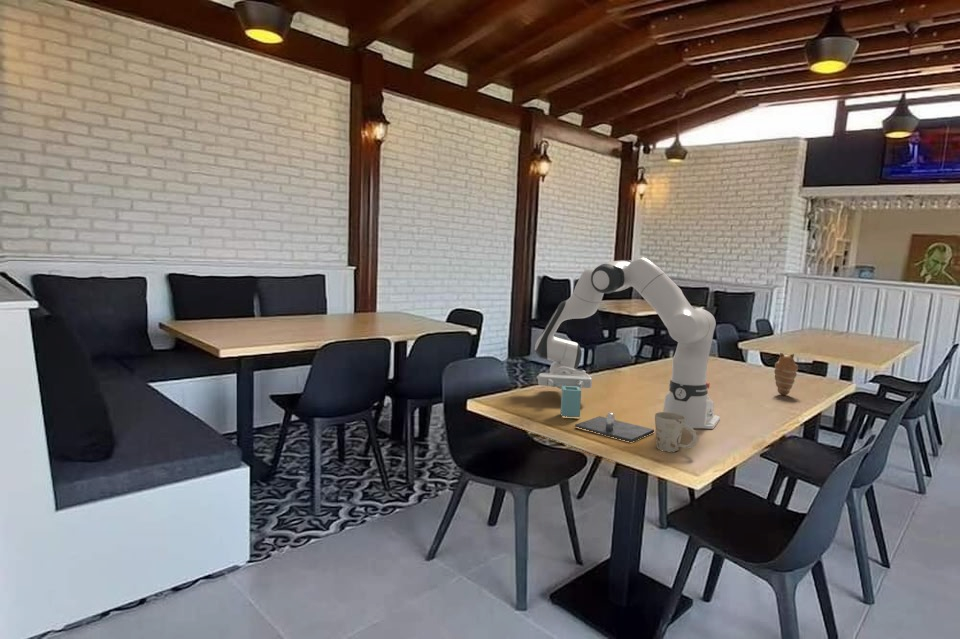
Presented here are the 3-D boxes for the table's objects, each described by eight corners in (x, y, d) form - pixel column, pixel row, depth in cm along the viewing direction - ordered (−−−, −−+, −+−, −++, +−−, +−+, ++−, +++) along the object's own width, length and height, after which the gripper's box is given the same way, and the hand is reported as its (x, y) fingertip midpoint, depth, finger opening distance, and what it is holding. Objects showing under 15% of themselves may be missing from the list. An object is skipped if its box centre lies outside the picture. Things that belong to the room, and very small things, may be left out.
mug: (659, 442, 177) (661, 410, 176) (701, 452, 169) (703, 418, 168) (648, 449, 170) (650, 415, 169) (691, 459, 163) (693, 424, 161)
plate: (599, 419, 200) (600, 401, 199) (653, 433, 186) (655, 413, 186) (575, 428, 189) (576, 408, 188) (631, 443, 175) (632, 422, 174)
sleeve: (560, 413, 205) (561, 386, 204) (577, 414, 205) (579, 386, 204) (562, 418, 199) (563, 390, 198) (579, 419, 199) (581, 390, 198)
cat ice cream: (773, 396, 244) (777, 353, 242) (770, 392, 251) (774, 350, 249) (796, 398, 241) (800, 355, 239) (793, 394, 249) (797, 352, 247)
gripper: (536, 367, 227) (538, 375, 214) (589, 370, 227) (594, 378, 213) (535, 383, 228) (537, 392, 214) (588, 386, 227) (593, 395, 214)
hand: (566, 385), depth 214 cm, fingers open, 8 cm apart
